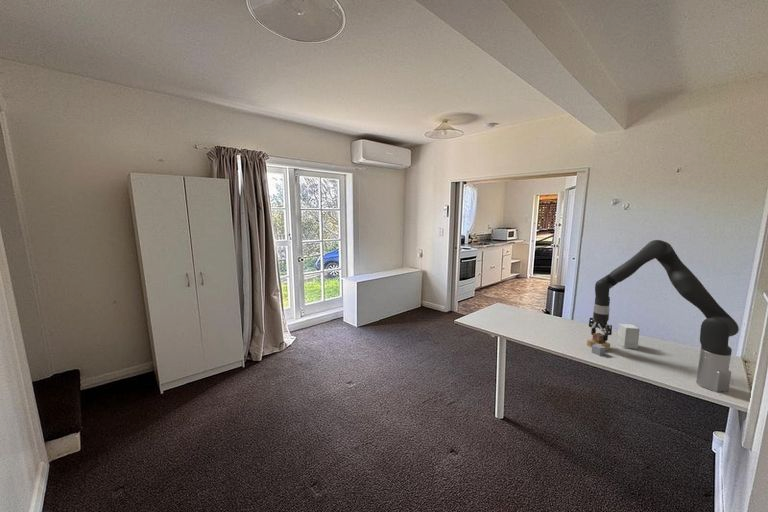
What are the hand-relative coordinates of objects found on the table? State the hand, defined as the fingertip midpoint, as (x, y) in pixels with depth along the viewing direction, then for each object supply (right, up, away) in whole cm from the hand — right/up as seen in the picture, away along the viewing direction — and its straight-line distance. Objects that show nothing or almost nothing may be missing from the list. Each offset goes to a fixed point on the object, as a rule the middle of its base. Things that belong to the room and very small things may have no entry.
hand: (598, 337), depth 177 cm
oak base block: (0, -6, +1) cm, 7 cm away
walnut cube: (0, -2, 0) cm, 3 cm away
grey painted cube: (-5, -7, -7) cm, 11 cm away
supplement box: (+19, -6, +2) cm, 20 cm away
